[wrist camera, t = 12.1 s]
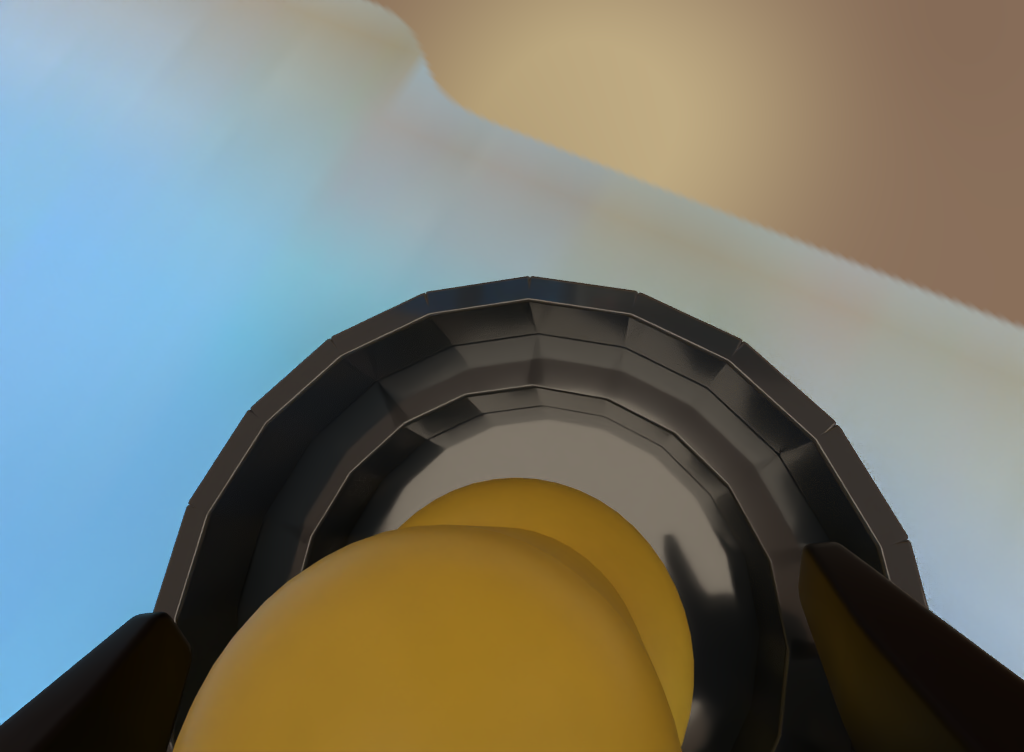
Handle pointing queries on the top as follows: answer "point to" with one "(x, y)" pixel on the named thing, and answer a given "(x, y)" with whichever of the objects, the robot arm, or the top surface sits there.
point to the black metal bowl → (556, 478)
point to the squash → (463, 639)
